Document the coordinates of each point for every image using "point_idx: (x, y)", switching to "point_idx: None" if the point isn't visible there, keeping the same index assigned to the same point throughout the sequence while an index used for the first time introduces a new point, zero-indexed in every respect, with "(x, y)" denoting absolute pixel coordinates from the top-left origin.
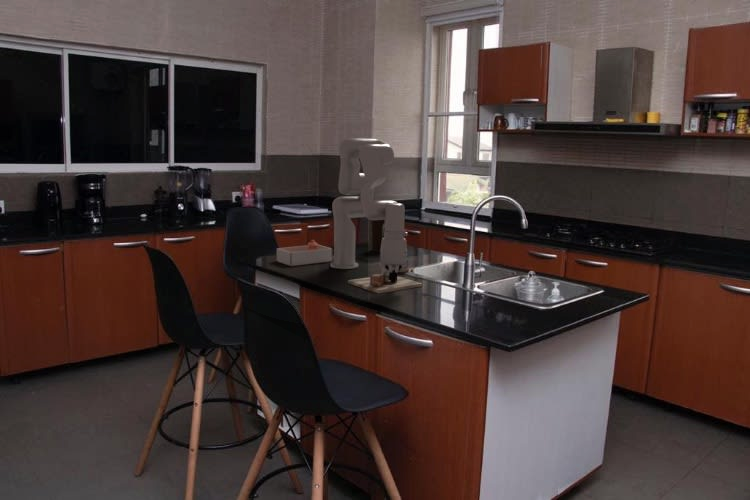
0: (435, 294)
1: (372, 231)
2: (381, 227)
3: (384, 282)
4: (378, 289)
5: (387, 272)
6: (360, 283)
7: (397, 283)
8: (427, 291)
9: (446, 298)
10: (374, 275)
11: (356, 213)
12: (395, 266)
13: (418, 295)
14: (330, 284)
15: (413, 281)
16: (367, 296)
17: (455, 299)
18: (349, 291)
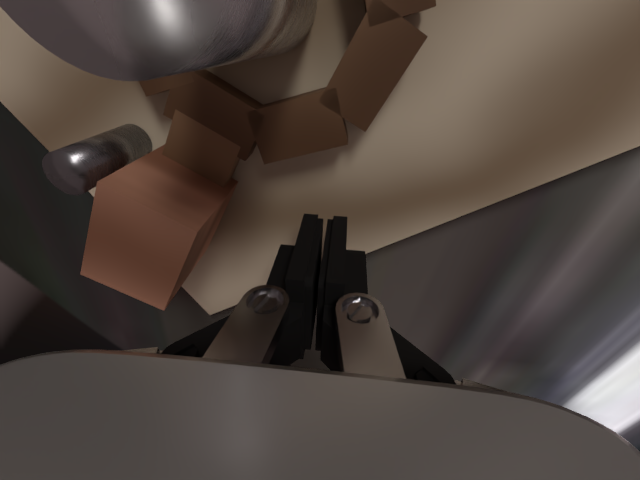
0: (587, 351)
1: None
2: None
3: (251, 151)
4: (211, 297)
5: (261, 55)
6: (10, 87)
7: (403, 105)
8: (586, 286)
9: (590, 414)
10: (104, 268)
11: None
12: (348, 369)
13: (461, 357)
14: None
15: None
16: (164, 342)
17: (625, 430)
18: (23, 239)
